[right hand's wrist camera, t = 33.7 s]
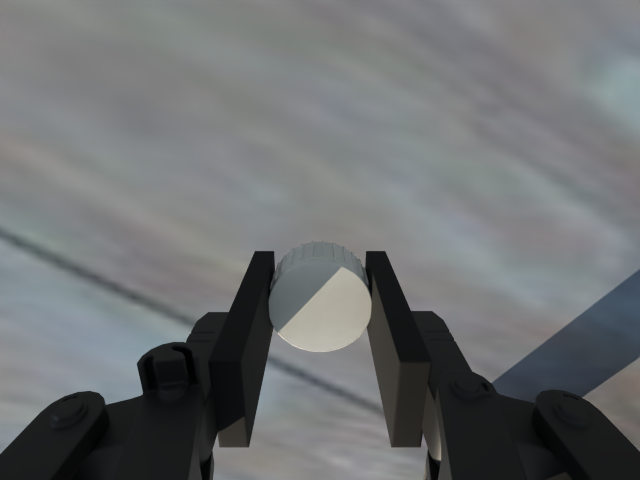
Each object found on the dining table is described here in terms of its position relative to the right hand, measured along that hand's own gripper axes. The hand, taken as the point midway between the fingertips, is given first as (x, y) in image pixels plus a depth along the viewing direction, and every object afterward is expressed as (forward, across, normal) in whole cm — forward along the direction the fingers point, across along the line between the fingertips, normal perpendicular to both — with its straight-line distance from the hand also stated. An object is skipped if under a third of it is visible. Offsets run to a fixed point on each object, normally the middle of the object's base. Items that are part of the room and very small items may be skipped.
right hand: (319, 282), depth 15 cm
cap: (-2, 0, 0) cm, 2 cm away
